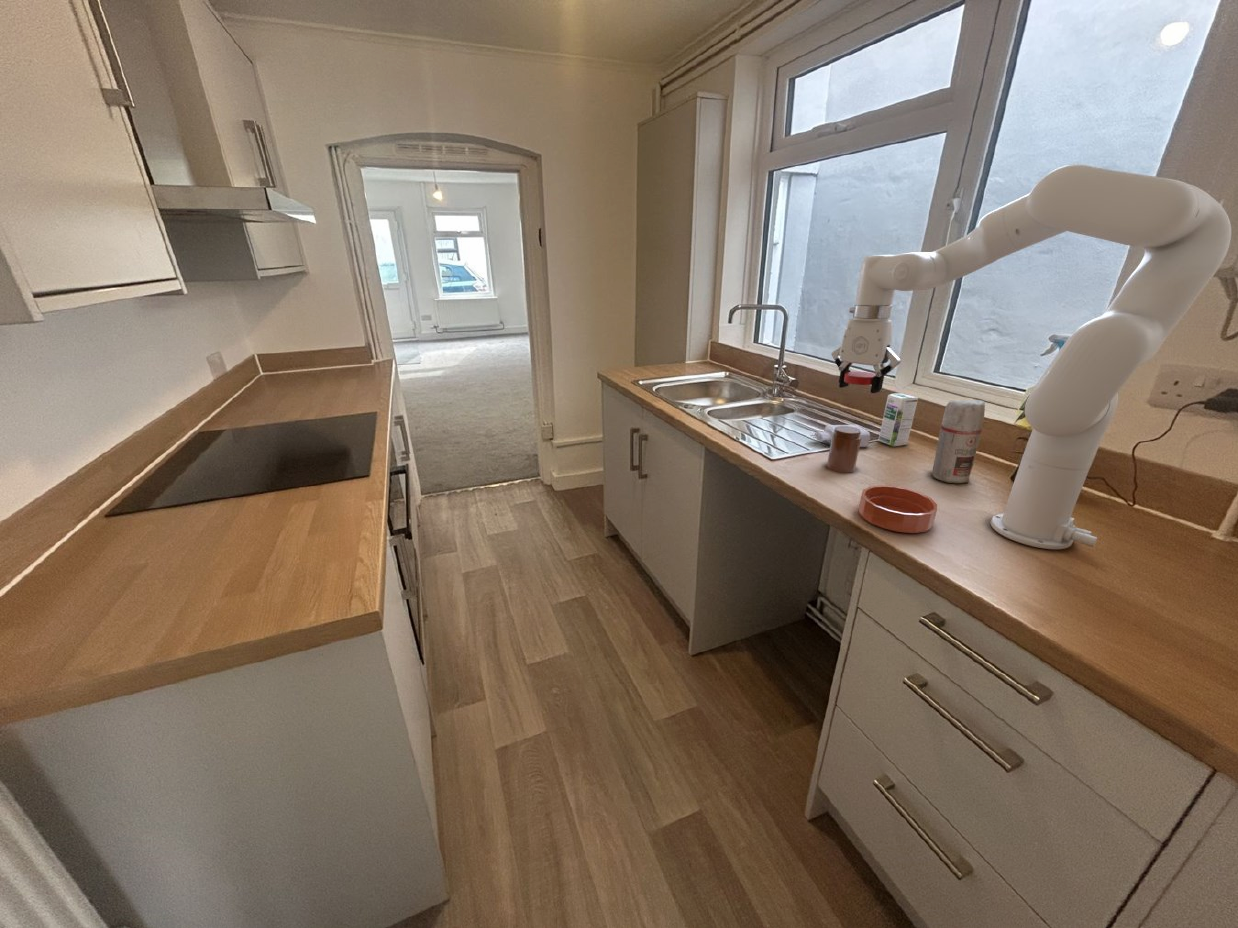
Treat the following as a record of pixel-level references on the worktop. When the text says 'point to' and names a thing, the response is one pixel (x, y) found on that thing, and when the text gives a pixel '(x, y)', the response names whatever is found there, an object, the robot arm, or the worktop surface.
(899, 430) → the syrup box
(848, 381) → the lid
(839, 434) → the jar
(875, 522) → the dish
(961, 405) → the spray can
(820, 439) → the charger
